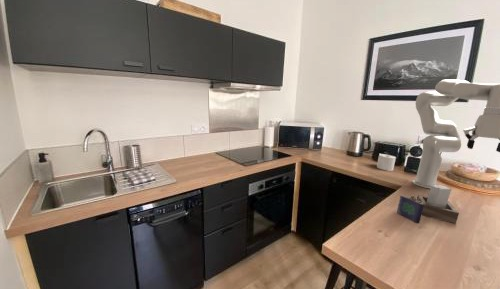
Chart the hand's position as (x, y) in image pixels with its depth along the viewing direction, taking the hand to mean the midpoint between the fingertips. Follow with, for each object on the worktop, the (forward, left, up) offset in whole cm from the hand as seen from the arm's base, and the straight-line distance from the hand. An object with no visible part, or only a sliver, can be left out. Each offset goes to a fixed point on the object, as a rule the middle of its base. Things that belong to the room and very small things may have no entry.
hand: (484, 150), depth 96 cm
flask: (+25, -27, -31) cm, 48 cm away
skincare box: (+13, -15, -30) cm, 36 cm away
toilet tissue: (-51, -30, -31) cm, 67 cm away
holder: (+13, -15, -30) cm, 36 cm away
